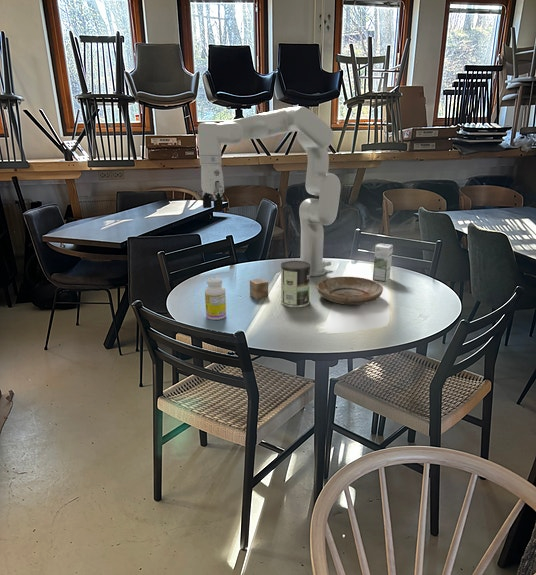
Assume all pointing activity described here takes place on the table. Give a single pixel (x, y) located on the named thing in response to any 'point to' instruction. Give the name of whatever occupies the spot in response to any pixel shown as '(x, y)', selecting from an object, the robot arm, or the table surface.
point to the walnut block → (259, 288)
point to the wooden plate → (349, 290)
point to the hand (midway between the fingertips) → (212, 209)
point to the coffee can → (295, 283)
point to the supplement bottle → (215, 299)
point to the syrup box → (382, 262)
